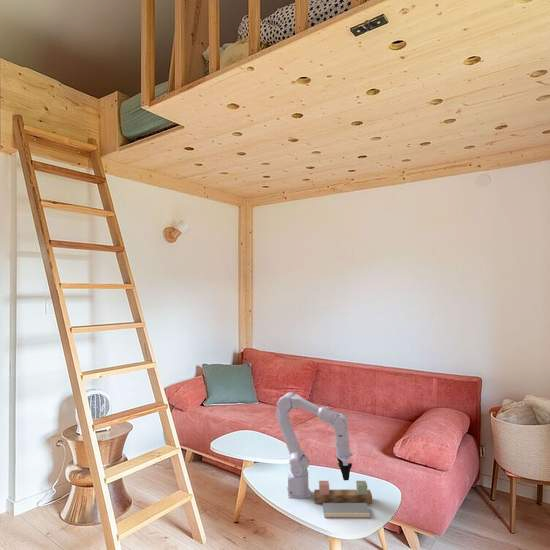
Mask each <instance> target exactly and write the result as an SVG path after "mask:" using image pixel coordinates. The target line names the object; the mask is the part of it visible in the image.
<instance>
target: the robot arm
mask: <svg viewBox="0 0 550 550" xmlns="http://www.w3.org/2000/svg"><path fill="white" fill-rule="evenodd" d="M295 409H303V410H305V411H308V412H309V413H312V414H314V415H316V417H317V418H318V420H319V421H322V422H324V423H326V424H328V425H330V426H332V428H333V429H334V438H335V440H334V441H335V451H336V452H335V457H336V459H337V462H338V463H337V464H338V467H339V469H340V472H341V476H342V479H343V481H349V480H350V472H351V469H352V466H353V463H352V462H349V460H350V457H353V455H354V454H353V453H352V452H350V443H349V442H350V441H349V430H348V428H349V427H348V424H349V418H348V416H347V415H345V414H344V413H341V412H340V413H339V412H338V411H337V412H336V411H333V410H331V409H330V407H328V406H327V405H326V406H320V407H319V406H318V405H316V404H315V403H312V402H310V401H309V400H307V399H305V398H303V397H302V396H301V395H299V394H297V393H295V392H293V391H288V392H287V393H285V394H284V395H283V396H281V397H280V398H279V399H278V400H277V402H276V412H275V418H276V419H277V423H278V426H279V428H280V431H281V434H282V436H283V439H284V441H285V442H284V443H285V444H286V447H287V451H288V453H289V461H288V462H289V464H290V465H289V466H290V471H291V472H288V473H287V486H286V488H287V494H288V495H287V497H288V499H311V494H310V493H311V492H310V487H309V471H308V467H309V466H310V459H309V457H308V456H307V455H306V454H305V451H304V450H303V449H301V447H300V444H299V441H298V439H297V435H296V433H295V430H294V428H293V424H292V422H291V420H290V416H289V414H290V412H291V410H295Z"/></svg>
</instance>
